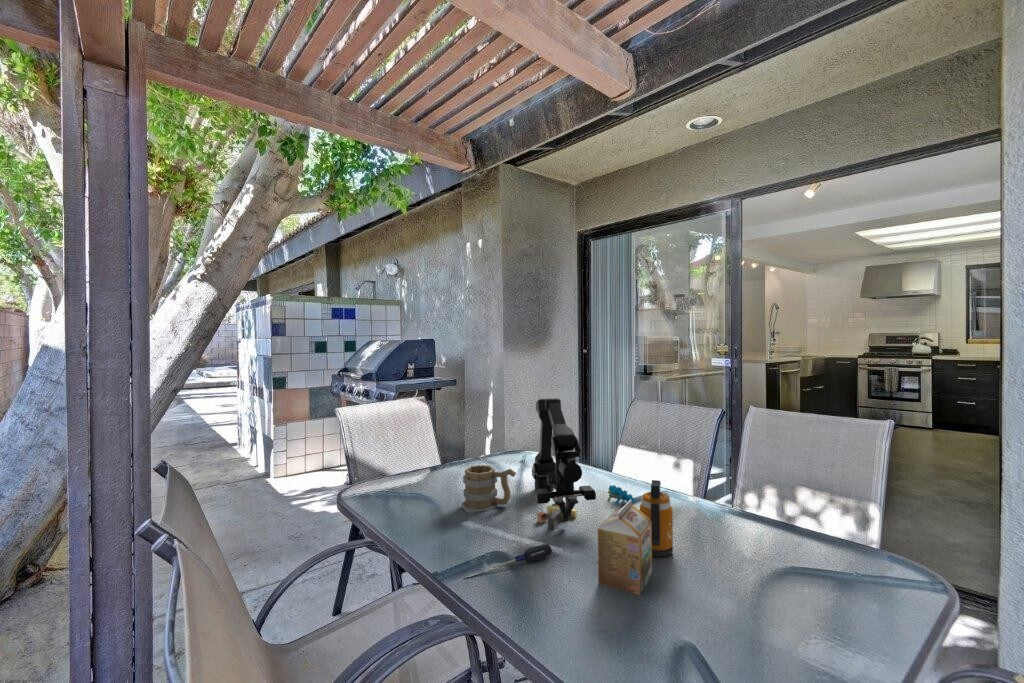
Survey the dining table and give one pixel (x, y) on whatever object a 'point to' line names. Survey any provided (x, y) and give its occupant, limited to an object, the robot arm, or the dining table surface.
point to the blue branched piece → (619, 494)
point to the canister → (659, 519)
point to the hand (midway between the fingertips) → (565, 521)
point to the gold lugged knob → (557, 515)
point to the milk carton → (625, 550)
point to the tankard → (484, 488)
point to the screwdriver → (531, 555)
